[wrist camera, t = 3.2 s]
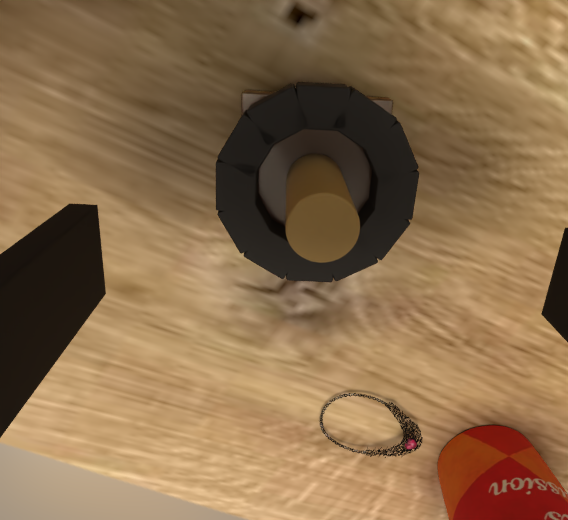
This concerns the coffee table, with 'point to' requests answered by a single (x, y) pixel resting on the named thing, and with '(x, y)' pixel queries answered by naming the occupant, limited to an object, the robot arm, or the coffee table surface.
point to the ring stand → (316, 187)
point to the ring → (315, 116)
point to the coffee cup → (498, 478)
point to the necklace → (409, 445)
